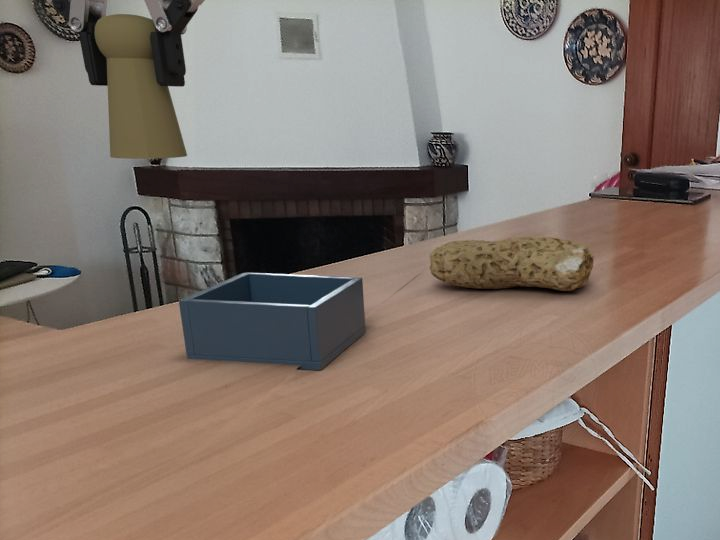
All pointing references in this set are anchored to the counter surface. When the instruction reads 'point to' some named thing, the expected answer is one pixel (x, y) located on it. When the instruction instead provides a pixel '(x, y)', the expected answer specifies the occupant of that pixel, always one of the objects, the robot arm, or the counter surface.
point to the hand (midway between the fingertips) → (138, 83)
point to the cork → (136, 92)
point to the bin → (274, 319)
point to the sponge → (513, 263)
